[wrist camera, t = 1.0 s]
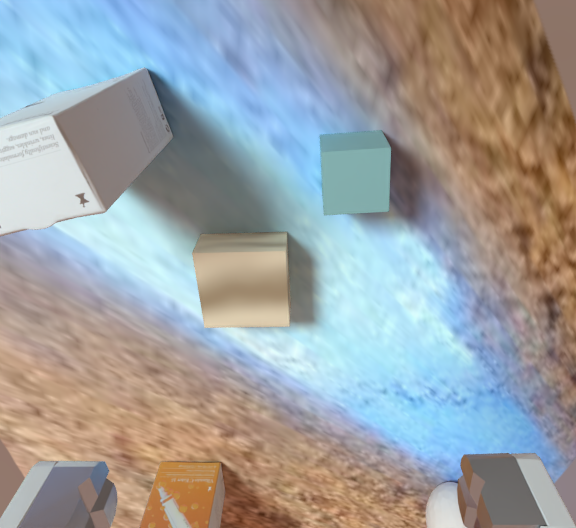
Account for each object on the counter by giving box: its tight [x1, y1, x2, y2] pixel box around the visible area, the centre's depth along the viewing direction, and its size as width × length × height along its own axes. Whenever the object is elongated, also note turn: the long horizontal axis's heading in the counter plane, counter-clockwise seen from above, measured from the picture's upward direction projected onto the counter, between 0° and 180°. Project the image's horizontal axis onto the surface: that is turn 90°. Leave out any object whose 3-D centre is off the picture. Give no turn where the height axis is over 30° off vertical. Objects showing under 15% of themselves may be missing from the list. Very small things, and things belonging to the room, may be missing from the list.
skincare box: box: [0, 68, 173, 236], centre depth 31 cm, size 8×6×15 cm
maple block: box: [192, 232, 291, 328], centre depth 43 cm, size 8×8×4 cm
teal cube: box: [320, 130, 391, 215], centre depth 37 cm, size 5×5×5 cm
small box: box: [139, 461, 225, 528], centre depth 55 cm, size 8×6×13 cm
